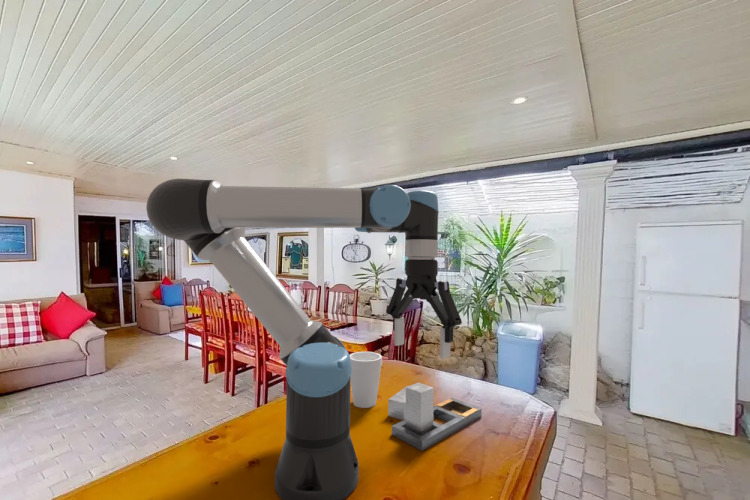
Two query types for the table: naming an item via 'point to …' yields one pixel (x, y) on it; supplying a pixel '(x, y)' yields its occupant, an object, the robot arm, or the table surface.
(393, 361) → the table surface
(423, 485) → the table surface
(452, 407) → the grey flat frame
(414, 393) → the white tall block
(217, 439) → the table surface
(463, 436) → the table surface
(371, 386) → the foam cup
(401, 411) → the block
